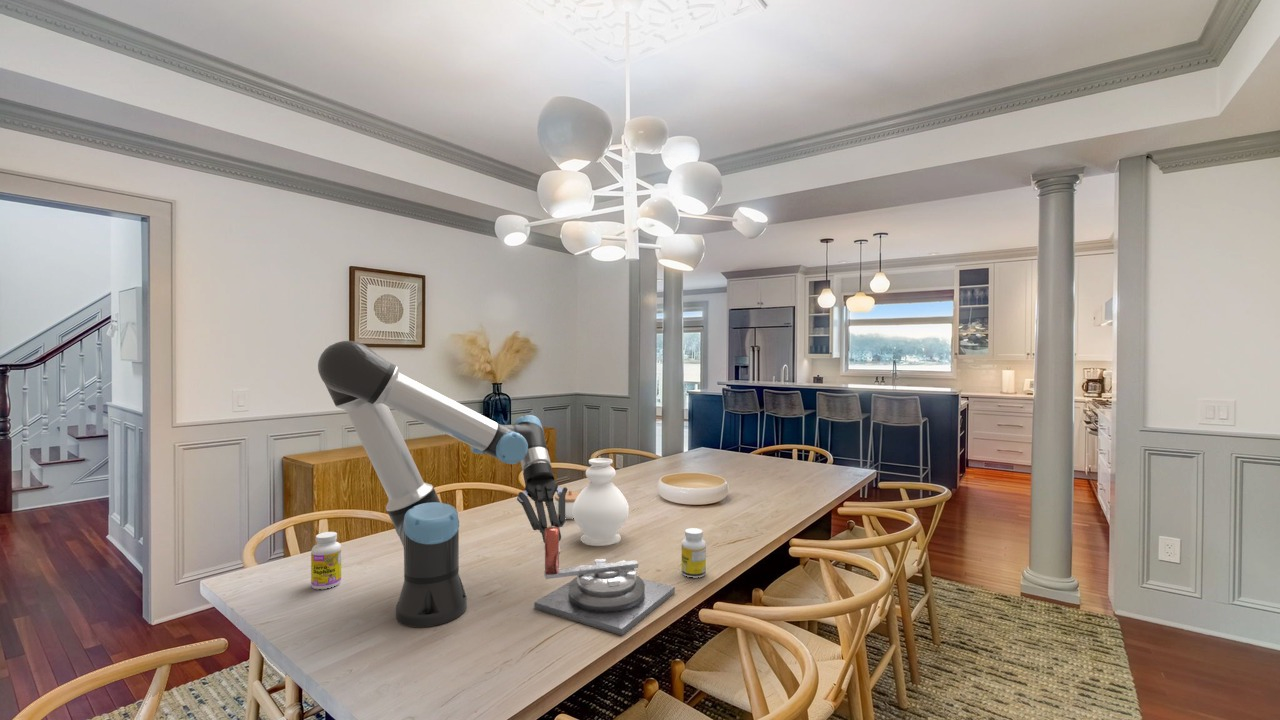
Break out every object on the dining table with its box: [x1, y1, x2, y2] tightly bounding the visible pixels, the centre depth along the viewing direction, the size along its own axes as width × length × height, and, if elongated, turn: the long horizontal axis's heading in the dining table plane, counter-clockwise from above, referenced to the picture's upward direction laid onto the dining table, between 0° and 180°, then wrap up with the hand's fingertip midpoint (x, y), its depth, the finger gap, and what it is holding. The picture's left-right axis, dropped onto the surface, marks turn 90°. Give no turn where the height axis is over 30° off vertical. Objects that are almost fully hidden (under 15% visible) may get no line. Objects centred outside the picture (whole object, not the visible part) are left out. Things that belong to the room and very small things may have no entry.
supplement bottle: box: [310, 531, 342, 590], centre depth 141 cm, size 7×7×13 cm
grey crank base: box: [533, 575, 676, 637], centre depth 132 cm, size 24×24×4 cm
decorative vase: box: [572, 457, 630, 547], centre depth 176 cm, size 18×18×25 cm
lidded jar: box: [554, 490, 581, 520], centre depth 200 cm, size 11×11×9 cm
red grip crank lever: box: [543, 526, 639, 597], centre depth 131 cm, size 22×14×14 cm, turn 108°
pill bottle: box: [681, 527, 707, 579], centre depth 148 cm, size 6×6×12 cm
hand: (555, 554), depth 131 cm, fingers closed
